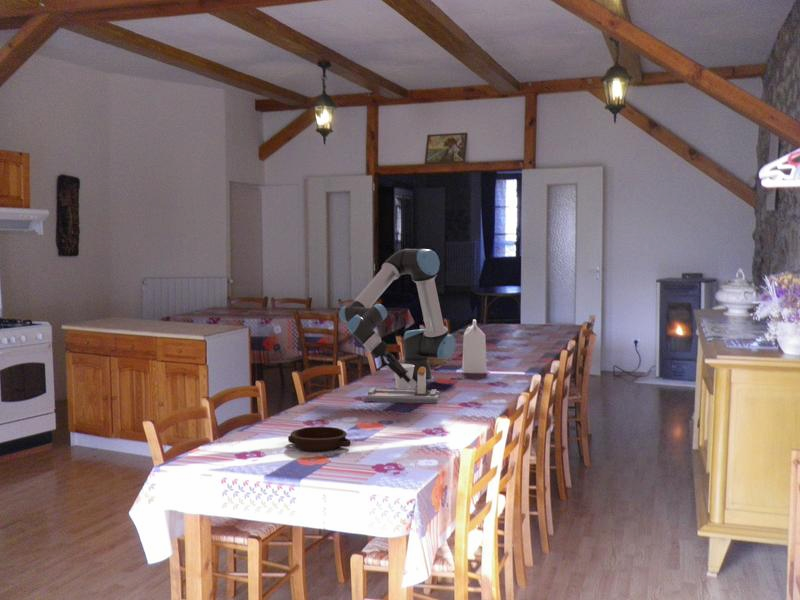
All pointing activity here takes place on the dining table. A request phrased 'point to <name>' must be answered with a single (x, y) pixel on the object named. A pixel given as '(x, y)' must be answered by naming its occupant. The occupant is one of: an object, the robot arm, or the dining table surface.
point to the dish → (319, 438)
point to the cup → (401, 382)
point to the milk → (474, 350)
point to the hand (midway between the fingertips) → (415, 386)
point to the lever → (421, 382)
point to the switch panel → (401, 396)
